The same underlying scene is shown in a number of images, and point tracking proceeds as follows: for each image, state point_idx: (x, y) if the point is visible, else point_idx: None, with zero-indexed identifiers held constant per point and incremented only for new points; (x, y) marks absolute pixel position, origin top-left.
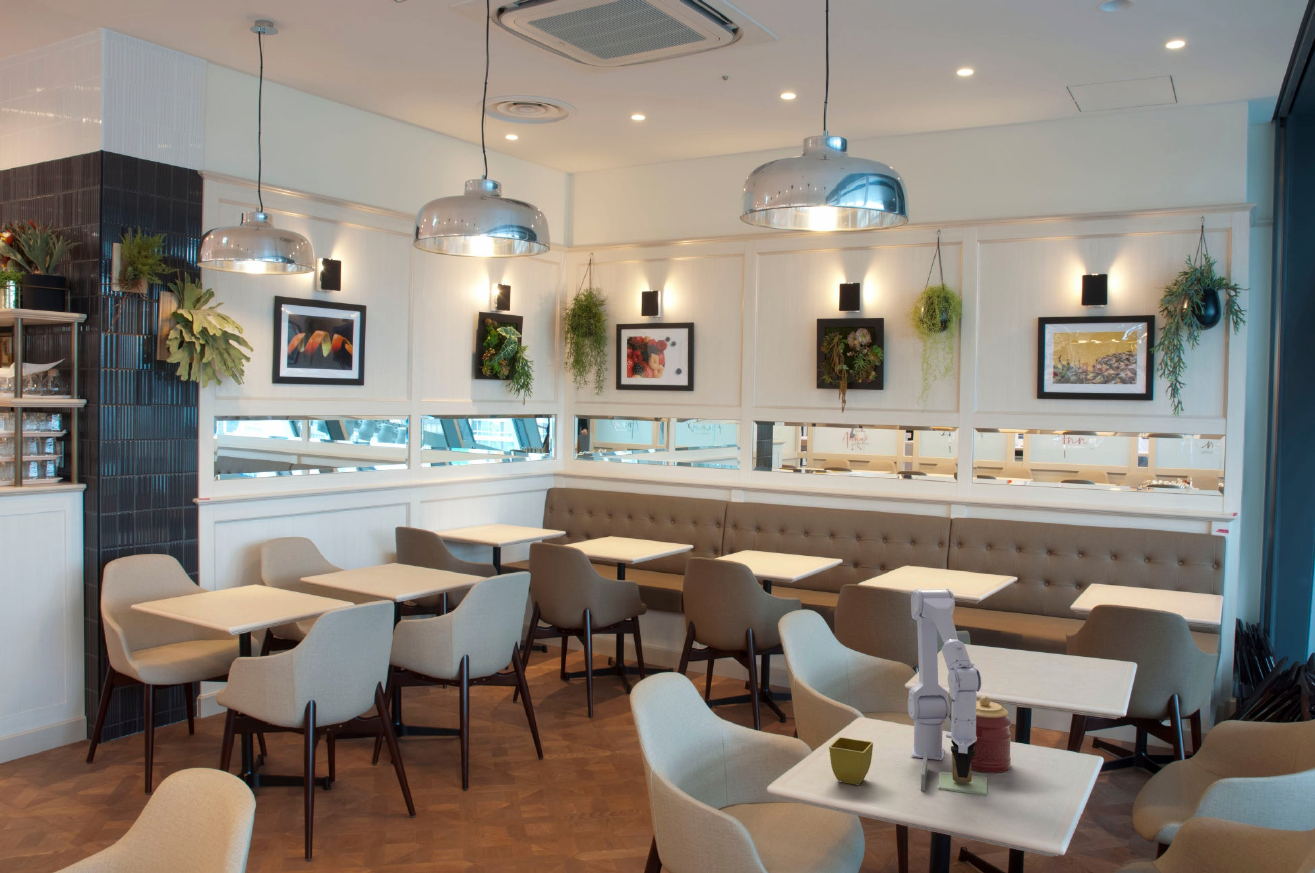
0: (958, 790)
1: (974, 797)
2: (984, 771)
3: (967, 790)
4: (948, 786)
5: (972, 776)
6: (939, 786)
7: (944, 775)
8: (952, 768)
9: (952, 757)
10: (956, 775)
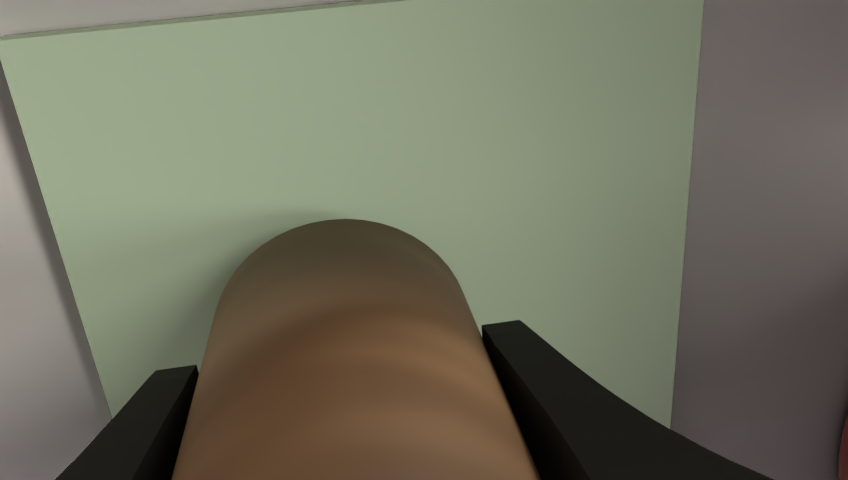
0: (84, 302)
1: (8, 471)
2: (843, 442)
3: (119, 401)
4: (122, 174)
5: (633, 375)
6: (35, 53)
7: (554, 59)
8: (288, 303)
9: (250, 447)
10: (211, 334)
